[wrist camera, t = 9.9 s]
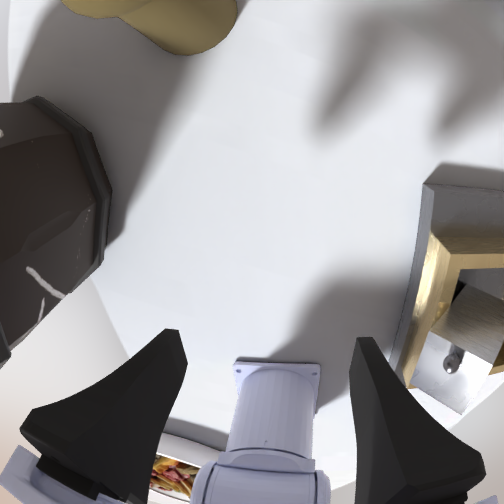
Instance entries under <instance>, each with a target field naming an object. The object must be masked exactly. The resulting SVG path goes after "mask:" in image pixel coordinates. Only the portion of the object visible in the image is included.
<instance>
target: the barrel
mask: <svg viewBox="0 0 504 504" xmlns="http://www.w3.org/2000/svg"><path fill="white" fill-rule="evenodd" d="M111 195H112V188H111V186H110V183H109V181H108V178H107V175H106V173H105V170H104V167H103V165H102V162H101V159H100V156H99V154H98V151H97V148H96V145H95V142H94V139H93V136H92V133H91V132H89V131H88V130H86V129H85V127H83V126H82V125H80V124H79V123H78V122H76V121H75V120H74V119H72V118H71V117H69V116H68V115H67V114H65V113H64V112H63V111H61V110H60V109H58V108H57V107H56V106H54V105H53V104H52V103H50V102H49V101H47V100H46V99H45V98H42V97H39V96H36V97H33V98H31V99H28V100H26V101H24V102H21V103H0V369H1V368H2V367H3V365H4V364H5V363H6V362H7V361H8V360H9V358H10V357H11V352H10V351H11V350H12V349H13V348H15V347H16V346H17V345H18V344H19V343H20V342H22V341H23V340H24V339H25V338H26V337H27V336H28V334H29V333H30V332H31V331H32V330H33V329H34V328H35V327H36V326H37V325H38V324H39V323H40V322H41V321H42V320H43V319H44V318H45V316H46V315H47V314H48V313H49V312H50V311H51V310H52V309H53V308H54V307H55V306H56V305H57V304H58V303H59V302H60V301H61V300H62V299H63V298H64V297H65V296H66V295H67V294H68V293H72V292H73V290H75V289H76V288H77V287H78V286H79V285H80V284H81V283H82V282H83V281H84V280H85V279H86V278H88V277H89V276H90V275H91V274H92V273H93V272H94V271H95V270H96V269H97V268H98V267H99V266H100V265H101V263H102V262H103V260H104V248H105V245H106V244H107V232H108V221H109V212H110V203H111Z"/></svg>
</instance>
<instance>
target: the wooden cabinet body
mask: <svg viewBox="0 0 504 504" xmlns="http://www.w3.org/2000/svg"><path fill="white" fill-rule="evenodd" d="M466 284H469V285H471V286H473V287H476V288H478V289H480V290H482V291H484V292H486V293H489V294H491V295H493V296H495V297H497V298H499V299H501V300H503V301H504V191H499V190H491V189H482V188H472V187H461V186H449V185H436V184H423V188H422V199H421V209H420V218H419V226H418V233H417V240H416V247H415V253H414V259H413V265H412V270H411V275H410V281H409V285H408V290H407V295H406V299H405V304H404V308H403V312H402V316H401V320H400V324H399V328H398V331H397V335H396V339H395V342H394V346H393V349H392V352H391V356H390V359H389V362H388V363H389V365H390V366H391V368H392V369H393V370H394V372H395V373H396V375H397V376H398V378H399V379H400V380H401V382H402V383H403V384H404V386H405V387H407V389H413V388H417V387H415V386H414V385H412V384H411V383H409V382H410V380H411V377H412V375H413V372H414V370H415V368H416V365H417V362H418V360H419V357H420V355H421V352H422V349H423V347H424V344H425V341H426V338H427V335H428V332H429V330H430V329H431V328H432V327H433V326H434V325H435V323H436V322H437V321H438V320H439V319H440V317H441V316H442V315H443V314H444V313H445V311H446V310H447V309H448V308H449V306H450V305H451V304H452V303H453V301H454V300H455V299H456V297H457V296H458V295H459V294H460V292H461V291H462V290H463V288H464V287H465V286H466ZM503 371H504V341H503V343H502V346H501V348H500V350H499V353H498V355H497V357H496V359H495V362H494V364H493V366H492V368H491V369H490V371H489V373H488V375H491V374H496V373H500V372H503Z"/></svg>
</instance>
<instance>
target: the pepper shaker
mask: <svg viewBox="0 0 504 504" xmlns="http://www.w3.org/2000/svg"><path fill="white" fill-rule="evenodd" d="M61 1H62V3H64V4H65V5H66V6H67V7H68V8H69V9H70V10H72V11H73V12H74V13H76V14H80V15H84V16H88V17H92V18H96V19H98V18H111V17H118V18H120V19H121V20H123V21H124V22H126V23H127V24H129V25H130V26H132V27H133V28H134V29H136V30H137V31H139V32H140V33H141V34H143V35H144V36H146V37H147V38H148V39H150V40H151V41H152V42H154V43H155V44H157V45H158V46H159V47H161V48H162V49H163V50H165V51H168V52H170V53H172V54H175V55H193V54H198V53H202V52H204V51H206V50H209V49H211V48H213V47H215V46H216V45H217V44H218V43H220V42H221V41H222V40H223V39H224V38H226V37H227V35H228V34H229V32H230V31H231V29H232V28H233V26H234V24H235V20H236V16H237V5H236V0H61Z"/></svg>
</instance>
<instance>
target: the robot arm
mask: <svg viewBox="0 0 504 504" xmlns="http://www.w3.org/2000/svg"><path fill="white" fill-rule="evenodd" d="M187 365H188V362H187V359H186V355H185V352H184V348H183V345H182V341H181V338H180V334H179V330H174V329H164V330H163V331H162V332H161V333H159V334H158V335H157V336H156V337H155V338H154V339H153V340H152V341H150V342H149V343H148V344H147V345H146V346H145V347H144V348H142V349H141V350H140V351H139V352H138V353H136V354H135V355H134V356H133V357H132V358H131V359H129V360H128V361H127V362H125V363H124V364H123V365H122V366H120V367H119V368H118V369H116V370H115V371H114V372H112V373H111V374H109V375H108V376H106V377H105V378H103V379H102V380H100V381H99V382H97V383H95V384H94V385H92V386H90V387H88V388H86V389H84V390H82V391H80V392H78V393H77V394H74V395H72V396H70V397H68V398H65V399H63V400H60V401H58V402H55V403H52V404H49V405H45V406H42V407H38V408H35V409H32V411H31V412H30V414H29V415H28V416H27V418H26V420H25V421H24V422H23V424H22V425H21V427H20V432H21V434H22V435H23V436H24V437H25V438H26V440H28V442H30V443H31V444H32V445H33V446H34V447H35V448H36V449H37V450H38V451H39V452H40V453H41V454H42V455H41V457H40V458H38V457H37V456H36V455H34V454H33V453H31V452H29V451H28V450H27V449H25V448H24V447H22V446H21V445H18V446H17V448H16V449H15V451H14V453H13V455H12V456H11V458H10V460H9V461H8V463H7V465H6V466H5V468H4V470H3V472H2V473H1V475H0V485H2V486H3V487H4V488H5V489H6V490H8V491H9V492H10V493H11V494H12V495H13V496H14V497H16V498H17V499H18V500H19V501H21V502H22V503H23V504H125V503H127V504H147V501H148V493H149V486H150V480H151V475H152V470H153V465H154V461H155V457H156V453H157V449H158V445H159V442H160V438H161V435H162V431H163V429H164V426H165V423H166V421H167V419H168V416H169V414H170V412H171V409H172V407H173V405H174V402H175V400H176V398H177V395H178V393H179V391H180V388H181V386H182V383H183V380H184V376H185V373H186V369H187ZM238 369H239V370H238ZM233 370H234V376H235V381H236V386H237V391H238V400H237V405H236V409H235V413H234V417H233V421H232V426H231V430H230V434H229V438H228V442H227V446H226V450H225V452H222V451H221V452H220V453H219V457H218V461H209V462H207V463H206V464H205V465H203V466H202V467H201V468H200V469H199V471H198V473H197V475H196V478H195V480H194V483H193V487H192V491H191V496H190V504H330V496H331V489H330V480H329V477H328V476H327V475H326V474H324V471H323V470H315V460H314V459H312V440H313V419H314V416H315V409H316V402H317V394H318V387H319V379H320V370H321V368H320V365H318V364H283V363H257V362H239V361H237V362H234V364H233ZM314 372H315V373H314ZM349 377H350V397H351V404H352V411H353V418H354V425H355V433H356V442H357V474H356V493H355V504H464V502H465V501H467V499H468V496H467V491H469V490H470V489H472V488H473V487H474V486H475V485H477V484H478V483H479V482H481V481H482V480H483V479H484V477H485V476H486V471H485V466H484V462H483V459H482V456H481V454H480V453H479V452H478V451H477V450H475V449H473V448H472V447H470V446H468V445H467V444H465V443H464V442H462V441H461V440H459V439H458V438H456V437H455V436H454V435H453V434H451V433H450V432H449V431H447V430H446V429H445V428H444V427H443V426H442V425H441V424H439V423H438V422H437V421H436V420H435V419H434V418H433V417H432V416H431V415H430V414H429V413H428V412H427V411H426V410H425V409H424V408H423V407H422V406H421V405H420V404H419V403H418V402H417V400H416V399H415V398H414V397H413V396H412V395H411V393H410V392H409V391H408V390H407V388H406V387H405V386H404V384H403V383H402V382H401V380H400V379H399V378H398V376H397V375H396V373H395V372H394V370H393V369H392V368H391V366H390V365H389V363H388V362H387V360H386V358H385V357H384V355H383V354H382V352H381V350H380V349H379V347H378V345H377V344H376V342H375V340H374V339H373V338H372V337H357V339H356V344H355V349H354V354H353V358H352V362H351V367H350V371H349ZM118 500H119V501H118ZM120 501H121V502H120ZM123 502H124V503H123ZM474 504H498V501H497V496H496V495H494V496H491V497H489V498H487V499H484V500H482V501H479V502H477V503H474Z"/></svg>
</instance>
